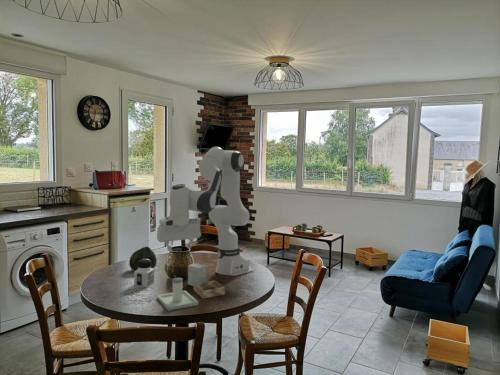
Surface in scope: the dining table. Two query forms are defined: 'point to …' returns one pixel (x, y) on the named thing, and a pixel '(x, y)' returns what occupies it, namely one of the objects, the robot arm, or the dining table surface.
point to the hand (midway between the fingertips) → (179, 249)
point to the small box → (196, 274)
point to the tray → (170, 305)
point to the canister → (177, 289)
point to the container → (144, 273)
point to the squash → (142, 257)
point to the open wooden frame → (207, 285)
